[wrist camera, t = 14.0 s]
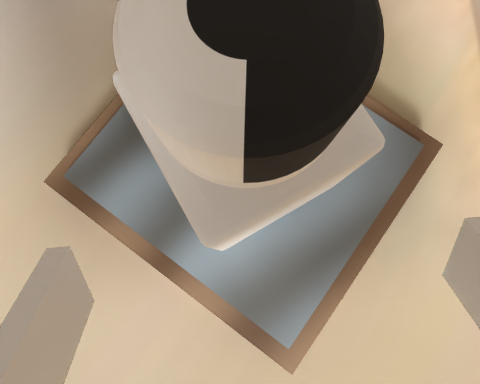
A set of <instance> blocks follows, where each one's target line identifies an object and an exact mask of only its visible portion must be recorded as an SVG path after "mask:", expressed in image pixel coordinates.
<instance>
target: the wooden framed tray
mask: <svg viewBox="0 0 480 384" xmlns="http://www.w3.org/2000/svg"><path fill="white" fill-rule="evenodd" d="M361 104H362V105H363V107H364V108H365V110H366V111H367V112H368V114H369V115H370V117H371V118H372V120H373V121H374V123H375V124H376V126H377V127H378V128H379V130H380V131H381V133H382V134H383V136H384V138H385V144H384V147H383V148H382V150H381V151H380V152H378V153H377V154H376V155H374V156H373V157H372V158H370V159H369V160H368V161H366V162H365V163H364V164H362V165H361V166H360V167H359V168H357V169H356V170H355V171H353V172H352V173H351V174H349V175H348V176H347V177H345V178H344V179H343V180H341V181H340V182H339V183H338V184H336V185H335V186H334V187H332V188H331V189H329V190H327V191H326V192H324V193H322V194H320V195H319V196H317V197H315V198H314V199H312V200H310V201H308V202H307V203H305V204H303V205H302V206H300V207H298V208H296V209H295V210H293V211H291V212H290V213H288V214H286V215H284V216H283V217H281V218H279V219H278V220H276V221H274V222H272V223H271V224H269V225H267V226H266V227H264V228H262V229H260V230H259V231H257V232H255V233H254V234H252V235H250V236H248V237H247V238H245V239H243V240H242V241H240V242H238V243H236V244H235V245H233V246H231V247H230V248H228V249H226V250H223V251H220V250H216V249H212V248H209V247H205V246H204V245H203V244H202V243H201V242H200V240H199V238H198V237H197V235H196V233H195V231H194V229H193V228H192V226H191V224H190V222H189V220H188V218H187V217H186V215H185V213H184V211H183V209H182V208H181V206H180V204H179V202H178V200H177V199H176V197H175V195H174V193H173V191H172V189H171V188H170V186H169V184H168V182H167V180H166V179H165V177H164V175H163V173H162V171H161V170H160V168H159V166H158V164H157V162H156V161H155V159H154V157H153V155H152V153H151V151H150V150H149V148H148V146H147V144H146V142H145V141H144V139H143V137H142V135H141V133H140V132H139V130H138V128H137V126H136V124H135V122H134V121H133V119H132V117H131V115H130V113H129V112H128V110H127V108H126V106H125V104H124V103H123V101H122V99H121V97H120V95H119V94H118V95H117V96H116V97H115V98H114V99H113V101H112V102H111V103H110V104H109V105H108V107H107V108H106V109H105V110H104V111H103V112H102V114H101V115H100V116H99V117H98V118H97V119H96V121H95V122H94V123H93V124H92V125H91V127H90V128H89V129H88V130H87V131H86V132H85V134H84V135H83V136H82V137H81V138H80V139H79V141H78V142H77V143H76V144H75V145H74V147H73V148H72V149H71V150H70V151H69V152H68V154H67V155H66V156H65V157H64V158H63V159H62V161H61V162H60V163H59V164H58V165H57V167H56V168H55V169H54V170H53V171H52V172H51V174H50V175H49V176H48V177H47V178H46V179H45V181H44V182H45V183H46V184H47V185H48V186H50V187H51V188H52V189H54V190H55V191H56V192H57V193H59V194H60V195H61V196H63V197H64V198H65V199H67V200H68V201H69V202H70V203H72V204H73V205H74V206H76V207H77V208H78V209H79V210H81V211H82V212H83V213H85V214H86V215H87V216H88V217H90V218H91V219H92V220H94V221H95V222H96V223H97V224H99V225H100V226H101V227H103V228H104V229H105V230H106V231H108V232H109V233H110V234H112V235H113V236H114V237H115V238H117V239H118V240H119V241H121V242H122V243H123V244H124V245H126V246H127V247H128V248H130V249H131V250H132V251H133V252H135V253H136V254H137V255H139V256H140V257H141V258H143V259H144V260H145V261H146V262H148V263H149V264H150V265H152V266H153V267H154V268H155V269H157V270H158V271H159V272H161V273H162V274H163V275H164V276H166V277H167V278H168V279H170V280H171V281H172V282H173V283H175V284H176V285H177V286H179V287H180V288H181V289H182V290H184V291H185V292H186V293H188V294H189V295H190V296H191V297H193V298H194V299H195V300H197V301H198V302H199V303H200V304H202V305H203V306H204V307H206V308H207V309H208V310H209V311H211V312H212V313H213V314H215V315H216V316H217V317H219V318H220V319H221V320H222V321H224V322H225V323H226V324H228V325H229V326H230V327H231V328H233V329H234V330H235V331H237V332H238V333H239V334H240V335H242V336H243V337H244V338H246V339H247V340H248V341H249V342H251V343H252V344H253V345H255V346H256V347H257V348H258V349H260V350H261V351H262V352H264V353H265V354H266V355H267V356H269V357H270V358H271V359H273V360H274V361H275V362H276V363H278V364H279V365H280V366H282V367H283V368H284V369H286V370H287V371H288V372H289V373H291V374H293V373H294V371H295V370H296V368H297V367H298V365H299V363H300V362H301V360H302V359H303V357H304V356H305V354H306V353H307V351H308V350H309V348H310V347H311V345H312V344H313V342H314V341H315V339H316V338H317V336H318V335H319V333H320V331H321V330H322V328H323V327H324V325H325V324H326V322H327V321H328V319H329V318H330V316H331V315H332V313H333V312H334V310H335V309H336V307H337V306H338V304H339V302H340V301H341V299H342V298H343V296H344V295H345V293H346V292H347V290H348V289H349V287H350V286H351V284H352V283H353V281H354V280H355V278H356V277H357V275H358V273H359V272H360V270H361V269H362V267H363V266H364V264H365V263H366V261H367V260H368V258H369V257H370V255H371V254H372V252H373V251H374V249H375V248H376V246H377V244H378V243H379V241H380V240H381V238H382V237H383V235H384V234H385V232H386V231H387V229H388V228H389V226H390V225H391V223H392V222H393V220H394V219H395V217H396V216H397V214H398V212H399V211H400V209H401V208H402V206H403V205H404V203H405V202H406V200H407V199H408V197H409V196H410V194H411V193H412V191H413V190H414V188H415V187H416V185H417V183H418V182H419V180H420V179H421V177H422V176H423V174H424V173H425V171H426V170H427V168H428V167H429V165H430V164H431V162H432V161H433V159H434V158H435V156H436V154H437V153H438V151H439V150H440V148H441V147H442V145H443V144H442V143H440V142H439V141H437V140H436V139H434V138H432V137H431V136H429V135H428V134H426V133H425V132H423V131H422V130H420V129H419V128H417V127H415V126H414V125H412V124H411V123H409V122H408V121H406V120H405V119H403V118H402V117H400V116H398V115H397V114H395V113H394V112H392V111H391V110H389V109H388V108H386V107H385V106H383V105H381V104H380V103H378V102H377V101H375V100H374V99H372V98H371V97H369V96H368V95H367V96H366V97H365V99H364V101H363V102H362V103H361Z"/></svg>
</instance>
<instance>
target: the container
mask: <svg viewBox="0 0 480 384" xmlns="http://www.w3.org/2000/svg"><path fill="white" fill-rule="evenodd" d="M383 44H384V28H383V18H382V14H381V9H380V5H379V1H378V0H119V1H118V4H117V7H116V11H115V16H114V23H113V49H114V56H115V62H116V65H117V68H118V70H117V71H116V72H114V74H113V77H112V79H113V84H114V86H115V88H116V90H117V92H118V93H119V95H120V97H121V99H122V101H123V103H124V104H125V106H126V108H127V110H128V112H129V113H130V115H131V117H132V119H133V121H134V122H135V124H136V126H137V128H138V130H139V132H140V133H141V135H142V137H143V139H144V141H145V142H146V144H147V146H148V148H149V150H150V151H151V153H152V155H153V157H154V159H155V161H156V162H157V164H158V166H159V168H160V170H161V171H162V173H163V175H164V177H165V179H166V180H167V182H168V184H169V186H170V188H171V189H172V191H173V193H174V195H175V197H176V199H177V200H178V202H179V204H180V206H181V208H182V209H183V211H184V213H185V215H186V217H187V218H188V220H189V222H190V224H191V226H192V228H193V229H194V231H195V233H196V235H197V237H198V238H199V240H200V242H201V243H202V244H203V245H204V246H205V247H209V248H212V249H216V250H220V251H223V250H226V249H228V248H230V247H231V246H233V245H235V244H236V243H238V242H240V241H242V240H243V239H245V238H247V237H248V236H250V235H252V234H254V233H255V232H257V231H259V230H260V229H262V228H264V227H266V226H267V225H269V224H271V223H272V222H274V221H276V220H278V219H279V218H281V217H283V216H284V215H286V214H288V213H290V212H291V211H293V210H295V209H296V208H298V207H300V206H302V205H303V204H305V203H307V202H308V201H310V200H312V199H314V198H315V197H317V196H319V195H320V194H322V193H324V192H326V191H327V190H329V189H331V188H332V187H334V186H335V185H336V184H338V183H339V182H340V181H341V180H343V179H344V178H345V177H347V176H348V175H349V174H351V173H352V172H353V171H355V170H356V169H357V168H359V167H360V166H361V165H362V164H364V163H365V162H366V161H368V160H369V159H370V158H372V157H373V156H374V155H376V154H377V153H378V152H380V151H381V150H382V148H383V147H384V144H385V138H384V136H383V134H382V133H381V131H380V130H379V128H378V127H377V126H376V124H375V123H374V121H373V120H372V118H371V117H370V115H369V114H368V112H367V111H366V110H365V108H364V107H363V105H362V104H361V103H362V102H363V101H364V99H365V97H366V96H367V94H368V92H369V91H370V89H371V87H372V85H373V83H374V80H375V78H376V76H377V73H378V71H379V67H380V63H381V58H382V54H383Z"/></svg>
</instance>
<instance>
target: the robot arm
mask: <svg viewBox="0 0 480 384" xmlns="http://www.w3.org/2000/svg"><path fill="white" fill-rule="evenodd" d="M442 276H443V277H444V278H445V280H446V281H447V283H448V284H449V286H450V287H451V289H452V290H453V291H454V293H455V294H456V296H457V297H458V299H459V300H460V302H461V303H462V304H463V306H464V307H465V309H466V310H467V312H468V313H469V315H470V316H471V317H472V319H473V320H474V322H475V323H476V325H477V326H478V328H479V329H480V217H473V218H465V219H464V221H463V224H462V227H461V229H460V232H459V234H458V237H457V239H456V242H455V244H454V247H453V249H452V252H451V254H450V257H449V260H448V262H447V265H446V267H445V270H444V272H443V275H442ZM93 303H94V299H93V297H92V294H91V292H90V290H89V288H88V285H87V283H86V281H85V279H84V277H83V274H82V272H81V270H80V268H79V266H78V263H77V261H76V259H75V257H74V254H73V252H72V250H71V248H70V247H57V248H47V249H46V250H45V252H44V254H43V255H42V257H41V259H40V260H39V262H38V264H37V265H36V267H35V269H34V270H33V272H32V274H31V275H30V277H29V279H28V281H27V282H26V284H25V286H24V287H23V289H22V291H21V292H20V294H19V296H18V297H17V299H16V301H15V302H14V304H13V306H12V307H11V309H10V311H9V312H8V314H7V316H6V317H5V319H4V321H3V322H2V324H1V326H0V384H64V382H65V379H66V376H67V374H68V371H69V368H70V365H71V363H72V360H73V357H74V355H75V352H76V349H77V346H78V344H79V341H80V338H81V335H82V333H83V330H84V327H85V325H86V322H87V319H88V316H89V314H90V311H91V308H92V306H93Z"/></svg>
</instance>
